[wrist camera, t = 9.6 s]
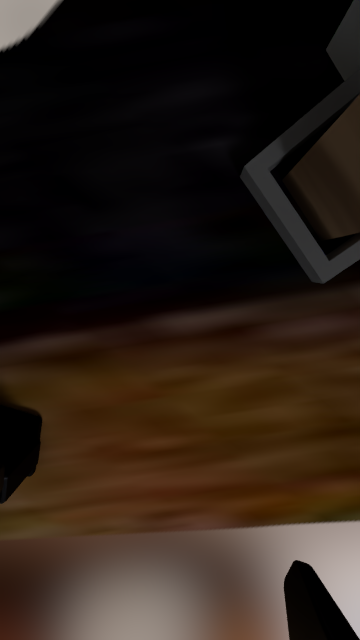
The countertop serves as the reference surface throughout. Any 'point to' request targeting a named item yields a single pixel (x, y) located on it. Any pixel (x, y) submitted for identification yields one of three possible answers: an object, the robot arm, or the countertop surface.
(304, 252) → the grey stool
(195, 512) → the countertop surface
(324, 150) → the brown box with handle
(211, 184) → the countertop surface
